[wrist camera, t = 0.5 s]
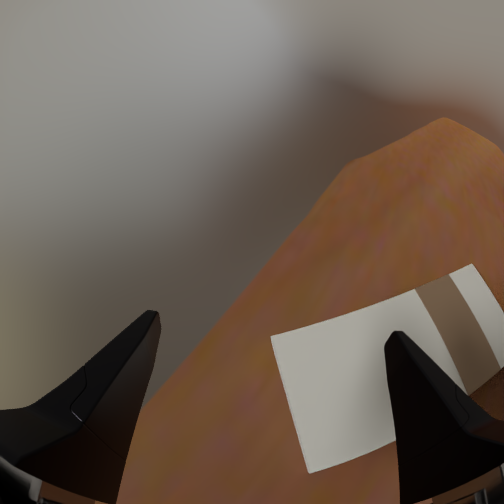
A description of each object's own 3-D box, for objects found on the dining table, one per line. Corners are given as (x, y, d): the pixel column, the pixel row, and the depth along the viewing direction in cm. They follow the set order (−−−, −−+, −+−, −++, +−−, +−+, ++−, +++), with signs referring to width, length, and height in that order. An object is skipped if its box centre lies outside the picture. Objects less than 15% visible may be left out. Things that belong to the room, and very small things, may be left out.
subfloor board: (511, 356, 17) (522, 348, 15) (307, 471, 16) (309, 473, 14) (465, 274, 25) (472, 262, 23) (272, 345, 24) (270, 335, 22)
